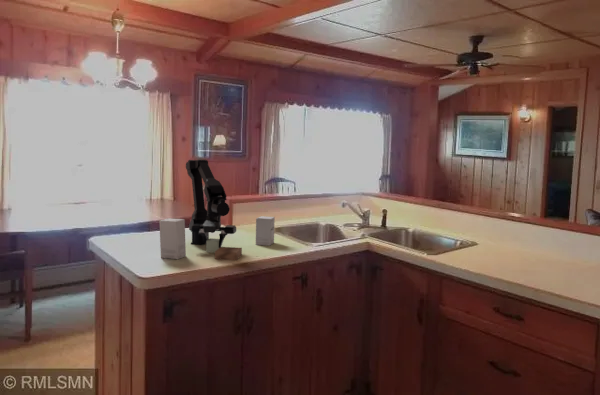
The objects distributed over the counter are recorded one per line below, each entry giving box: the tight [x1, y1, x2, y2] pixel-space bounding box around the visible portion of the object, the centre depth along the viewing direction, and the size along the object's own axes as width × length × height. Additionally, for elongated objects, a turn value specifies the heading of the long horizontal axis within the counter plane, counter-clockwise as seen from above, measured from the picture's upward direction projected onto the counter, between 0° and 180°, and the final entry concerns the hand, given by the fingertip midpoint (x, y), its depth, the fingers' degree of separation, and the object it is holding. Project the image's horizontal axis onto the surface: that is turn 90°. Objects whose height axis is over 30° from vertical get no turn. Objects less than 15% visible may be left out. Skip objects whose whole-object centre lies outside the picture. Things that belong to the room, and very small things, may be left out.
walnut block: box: [214, 246, 243, 261], centre depth 192 cm, size 9×9×4 cm
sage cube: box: [205, 237, 220, 254], centre depth 201 cm, size 5×5×5 cm
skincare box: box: [159, 217, 187, 260], centre depth 188 cm, size 8×7×16 cm
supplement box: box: [255, 215, 275, 246], centre depth 219 cm, size 7×7×13 cm
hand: (213, 248), depth 201 cm, fingers closed on sage cube, 5 cm apart
